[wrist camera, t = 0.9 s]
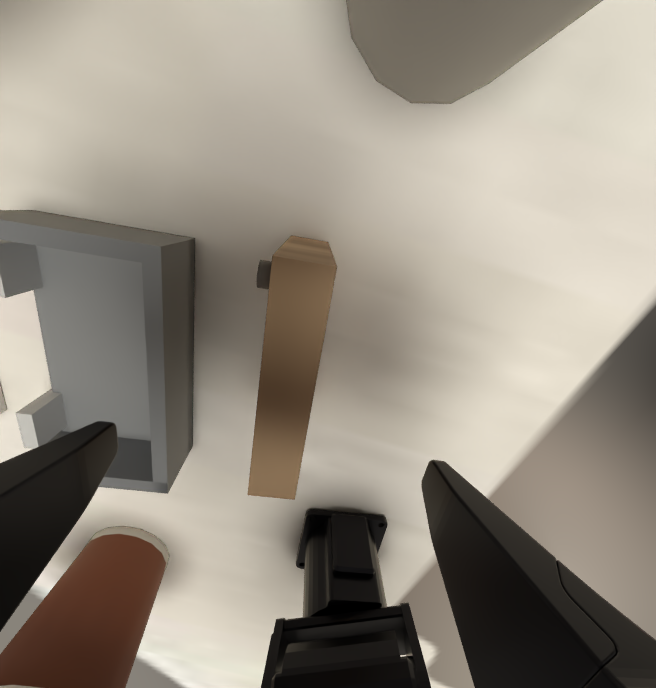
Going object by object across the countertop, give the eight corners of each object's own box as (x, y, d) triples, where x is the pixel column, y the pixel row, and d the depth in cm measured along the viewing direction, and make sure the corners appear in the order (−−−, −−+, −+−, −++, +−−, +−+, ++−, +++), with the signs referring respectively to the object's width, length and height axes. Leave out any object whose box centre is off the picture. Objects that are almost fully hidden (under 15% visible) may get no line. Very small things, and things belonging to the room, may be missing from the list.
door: (302, 397, 21) (294, 499, 14) (262, 392, 21) (233, 493, 13) (328, 242, 17) (337, 266, 10) (280, 233, 17) (252, 252, 10)
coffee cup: (182, 517, 25) (75, 763, 14) (188, 589, 28) (106, 831, 17) (59, 510, 24) (-158, 765, 13) (80, 585, 28) (-76, 835, 17)
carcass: (192, 446, 22) (167, 493, 18) (-3, 424, 21) (-71, 470, 17) (194, 238, 17) (161, 246, 13) (-66, 193, 16) (-184, 188, 12)
